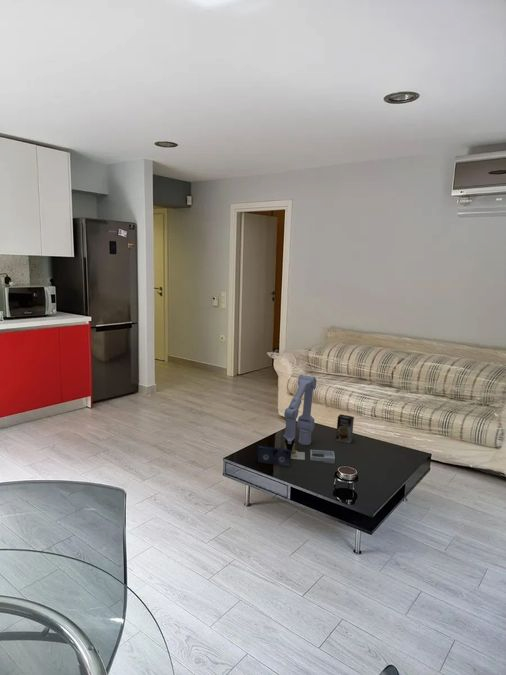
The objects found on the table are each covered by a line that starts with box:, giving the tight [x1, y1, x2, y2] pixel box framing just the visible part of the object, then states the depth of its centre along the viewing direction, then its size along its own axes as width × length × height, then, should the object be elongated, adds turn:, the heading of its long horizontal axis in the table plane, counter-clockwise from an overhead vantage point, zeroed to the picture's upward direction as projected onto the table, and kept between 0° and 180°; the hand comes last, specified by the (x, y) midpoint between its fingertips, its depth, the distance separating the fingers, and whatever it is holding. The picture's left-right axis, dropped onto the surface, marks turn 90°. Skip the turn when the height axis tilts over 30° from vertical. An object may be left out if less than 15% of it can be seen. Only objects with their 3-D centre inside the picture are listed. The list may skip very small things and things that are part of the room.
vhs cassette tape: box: [257, 445, 292, 468], centre depth 250 cm, size 18×3×10 cm, turn 74°
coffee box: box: [335, 413, 355, 444], centre depth 287 cm, size 9×6×16 cm
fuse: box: [283, 442, 296, 454], centre depth 262 cm, size 3×6×7 cm, turn 84°
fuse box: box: [291, 449, 306, 461], centre depth 262 cm, size 10×18×2 cm, turn 84°
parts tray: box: [309, 449, 336, 465], centre depth 260 cm, size 10×14×3 cm
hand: (289, 450), depth 262 cm, fingers closed on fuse, 3 cm apart
